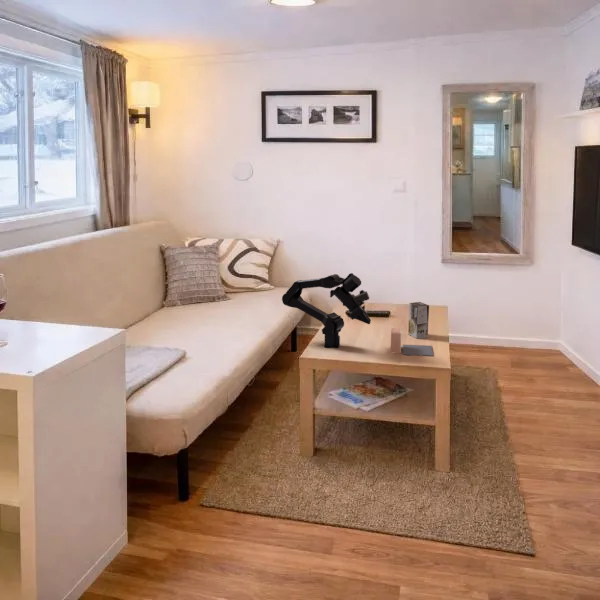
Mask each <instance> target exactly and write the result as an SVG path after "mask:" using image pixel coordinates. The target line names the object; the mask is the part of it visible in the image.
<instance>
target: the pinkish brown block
mask: <svg viewBox="0 0 600 600" xmlns="http://www.w3.org/2000/svg"><path fill="white" fill-rule="evenodd" d="M390 330H391V331H390V332H391V333H390V353H391V352H395V353H394V354H400V353H402V352H401V350H402V329H401V327H391V329H390Z"/></svg>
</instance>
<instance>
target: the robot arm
mask: <svg viewBox="0 0 600 600" xmlns="http://www.w3.org/2000/svg"><path fill="white" fill-rule="evenodd" d="M361 285H362V280H361V279H360V277H358V276H357V275H355V274H354V273H349V274H348V275H347V276H346V277H341V276H340V275H339V274H336V273H334V274H330V275H326V276H324V277H319V278H313V279H312V278H311V279H303V280H302V279H300V280H295V281H294V282H293V283H292V285H291V286H290V287H289V288H288V289H287V290H286V292H285V293H284V294H283V295H282V296H281V297H282V298H281V301H282V304H283V305H285V306H287V307H290V308H292V309H293V308H295V309H298V310H299V311H302V312H304V313H305V314H307V315H308V316H311V317H312V318H314V319H315V320H317V321H319V322H321V323H322V325H323V328H322V329H321V332H322V335H324V345H323V348H334V349H335V348H336V349H337V348H339V346H340V345H341V335H340V334H339V333H340V332H341V330H342V329H343V328H344V326H345V320H344V318H342V315H339V314H338V313H335V312H334V311H333V312H331V313H327V312H325V311H323V310H322V309H320V308H318V307H316V306H315V305H313V304H311V303H309V302H307V301H306V300H305V299H303V297H302V294H303V293H302V292H303V290H304V289H313V288H323V289H331V290H330V291H329V294H330V295H329V297H330V298H332V297H334V296H335V297H336V299H338V301H339V302H341V304H342V306H343V307H345V308H347V309H348V312H349V318H350V319H351V320H358V321H360V322H361V323H365V324H366V325H371V323H372V322H371V318H370V317H369V315H368V313H367V311H366V310H365V306H366V305H365V302H366V301H368V300H370V295H369V293H368V291H365V290H363V289H362V290H360V291H359V293H358V294H357V295H355V294H353V292H354V291H355V290H356V289H358V288H359V287H360V286H361ZM333 288H334V289H333Z"/></svg>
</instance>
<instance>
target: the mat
mask: <svg viewBox="0 0 600 600" xmlns="http://www.w3.org/2000/svg"><path fill="white" fill-rule="evenodd" d="M402 355H403V356H414V355H418V357H419V355H422V356H421V357H434V352H433V347H432V345H428V344H427V345H425V344H424V345H423V344H422V345H421V344H402Z"/></svg>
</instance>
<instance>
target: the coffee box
mask: <svg viewBox="0 0 600 600" xmlns="http://www.w3.org/2000/svg"><path fill="white" fill-rule="evenodd" d="M429 313H430V305H429V304H426V303H424V302H421V301H416V302H409V303H408V333H407V334H409V336H410V335H411V336H410V337H412V336H413V337H412V338H414V337H415V338H414V339H417V340H418V338H419V339H427V338H428V337H429V318H430V317H429V315H430V314H429Z"/></svg>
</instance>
